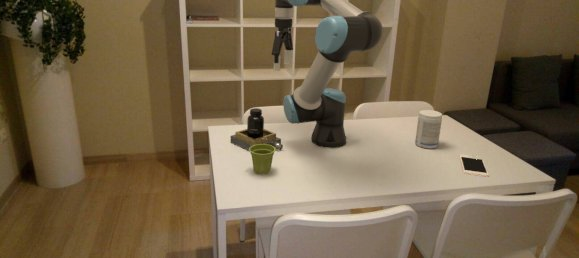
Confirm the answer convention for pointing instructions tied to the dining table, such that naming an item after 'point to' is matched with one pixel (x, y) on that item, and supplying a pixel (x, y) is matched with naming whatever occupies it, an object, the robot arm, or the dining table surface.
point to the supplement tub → (428, 129)
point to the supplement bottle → (255, 124)
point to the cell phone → (473, 165)
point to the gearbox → (247, 142)
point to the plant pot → (262, 157)
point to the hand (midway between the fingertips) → (282, 67)
